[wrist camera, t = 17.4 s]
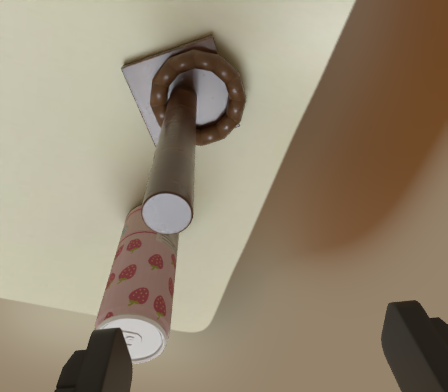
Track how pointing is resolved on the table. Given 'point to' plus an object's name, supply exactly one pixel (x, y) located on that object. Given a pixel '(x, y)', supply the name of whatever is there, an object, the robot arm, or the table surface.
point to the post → (175, 133)
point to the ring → (207, 63)
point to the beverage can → (141, 288)
